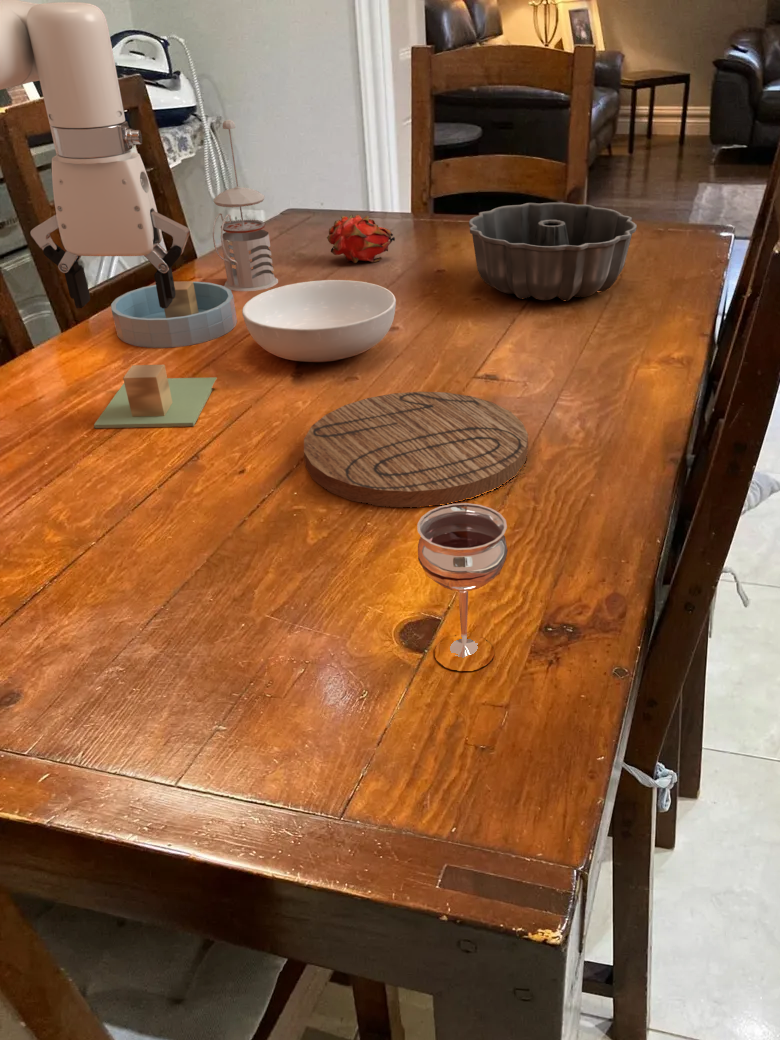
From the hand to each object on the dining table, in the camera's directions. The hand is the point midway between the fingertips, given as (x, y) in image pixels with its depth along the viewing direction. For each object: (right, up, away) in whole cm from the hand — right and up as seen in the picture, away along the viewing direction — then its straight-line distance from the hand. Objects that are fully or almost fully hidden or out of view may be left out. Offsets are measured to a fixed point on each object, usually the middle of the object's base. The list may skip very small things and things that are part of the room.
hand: (125, 304), depth 108 cm
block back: (-3, +9, +34) cm, 36 cm away
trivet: (+34, -18, -3) cm, 38 cm away
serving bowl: (+20, +1, +24) cm, 31 cm away
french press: (+4, +18, +48) cm, 51 cm away
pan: (-3, +6, +32) cm, 33 cm away
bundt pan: (+54, +17, +45) cm, 72 cm away
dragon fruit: (+22, +26, +59) cm, 68 cm away
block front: (+1, -11, +7) cm, 13 cm away
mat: (+1, -9, +10) cm, 14 cm away
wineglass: (+39, -39, -32) cm, 63 cm away
